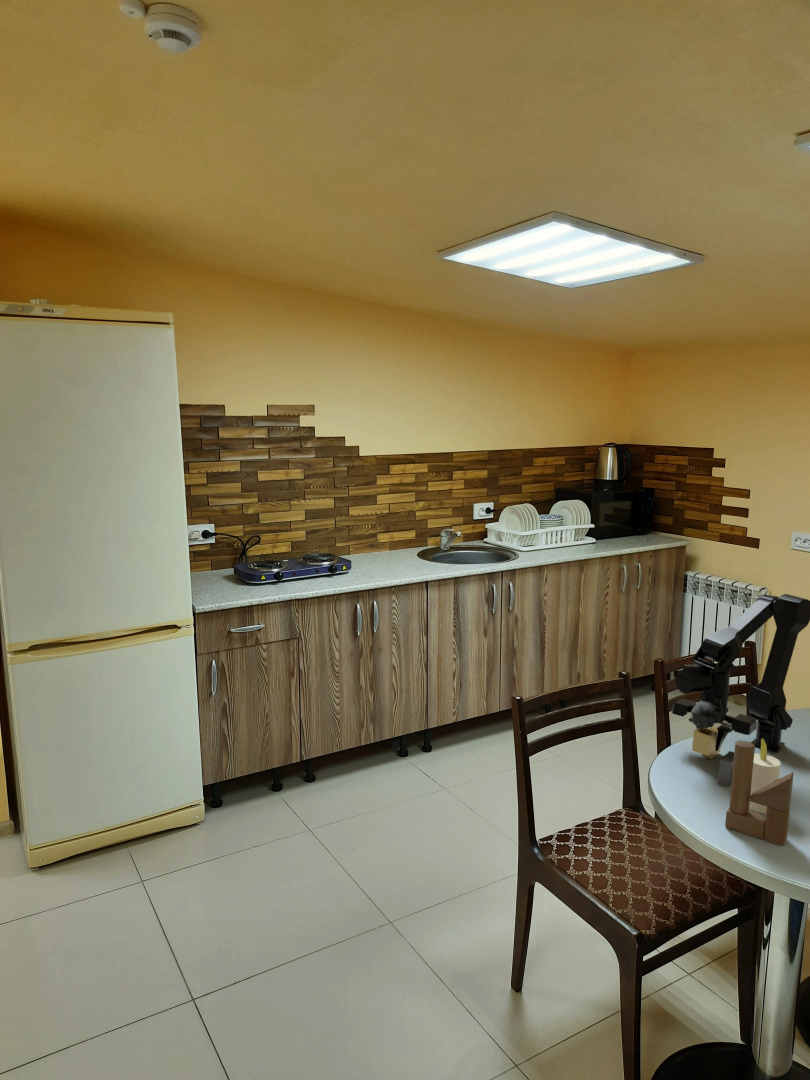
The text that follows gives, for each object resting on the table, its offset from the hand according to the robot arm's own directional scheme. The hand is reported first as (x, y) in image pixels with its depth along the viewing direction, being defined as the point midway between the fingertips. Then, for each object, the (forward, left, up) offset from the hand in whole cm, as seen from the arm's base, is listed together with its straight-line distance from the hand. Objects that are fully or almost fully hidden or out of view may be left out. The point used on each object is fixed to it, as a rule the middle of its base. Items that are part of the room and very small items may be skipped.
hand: (710, 748), depth 177 cm
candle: (+17, +17, -2) cm, 24 cm away
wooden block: (+29, +20, -2) cm, 35 cm away
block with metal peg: (+8, +8, -2) cm, 11 cm away
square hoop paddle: (+2, 0, -2) cm, 2 cm away
